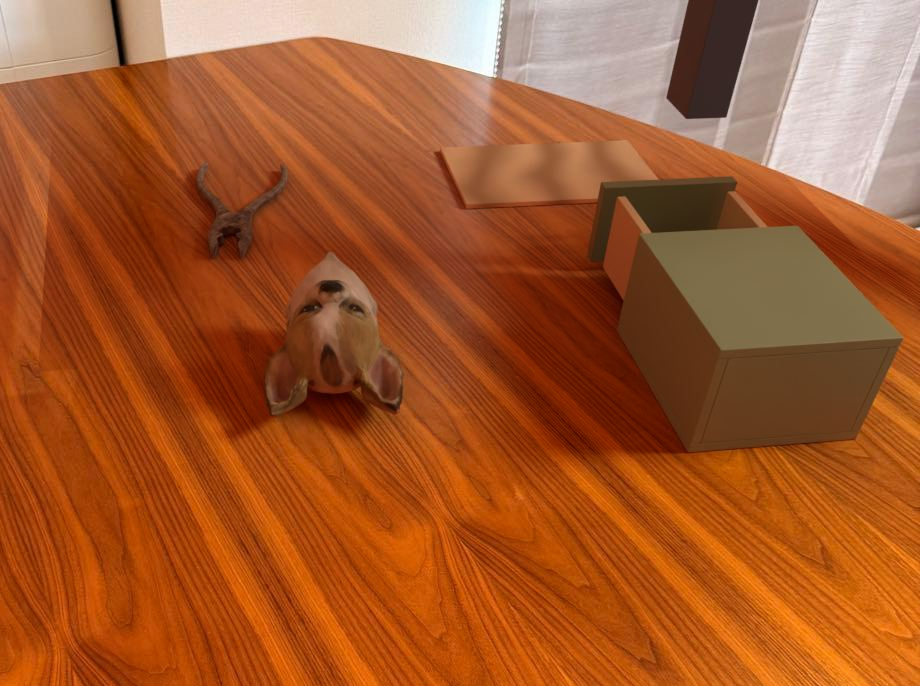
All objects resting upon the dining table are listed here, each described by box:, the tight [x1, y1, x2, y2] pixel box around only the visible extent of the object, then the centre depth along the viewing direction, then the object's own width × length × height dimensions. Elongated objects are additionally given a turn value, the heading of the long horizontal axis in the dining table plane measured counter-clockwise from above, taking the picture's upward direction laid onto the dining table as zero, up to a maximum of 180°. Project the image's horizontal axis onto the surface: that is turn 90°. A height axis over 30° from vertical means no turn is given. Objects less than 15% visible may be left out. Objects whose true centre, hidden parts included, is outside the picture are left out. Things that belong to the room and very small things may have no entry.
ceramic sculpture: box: [262, 251, 404, 418], centre depth 75 cm, size 11×9×15 cm
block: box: [665, 0, 759, 120], centre depth 76 cm, size 4×4×12 cm
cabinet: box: [616, 225, 904, 454], centre depth 76 cm, size 17×14×9 cm
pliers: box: [195, 161, 289, 259], centre depth 98 cm, size 10×1×20 cm
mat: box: [439, 139, 660, 210], centre depth 106 cm, size 22×14×1 cm, turn 99°
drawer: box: [586, 175, 768, 302], centre depth 86 cm, size 20×12×7 cm, turn 9°
